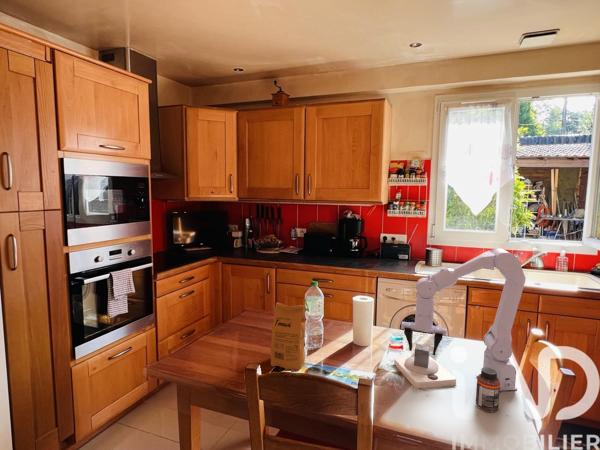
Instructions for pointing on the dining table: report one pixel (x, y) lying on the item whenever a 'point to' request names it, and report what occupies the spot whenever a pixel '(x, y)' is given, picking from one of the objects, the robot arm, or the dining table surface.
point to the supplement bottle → (488, 390)
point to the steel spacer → (421, 355)
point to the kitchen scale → (424, 373)
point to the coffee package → (288, 337)
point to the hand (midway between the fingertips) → (422, 351)
